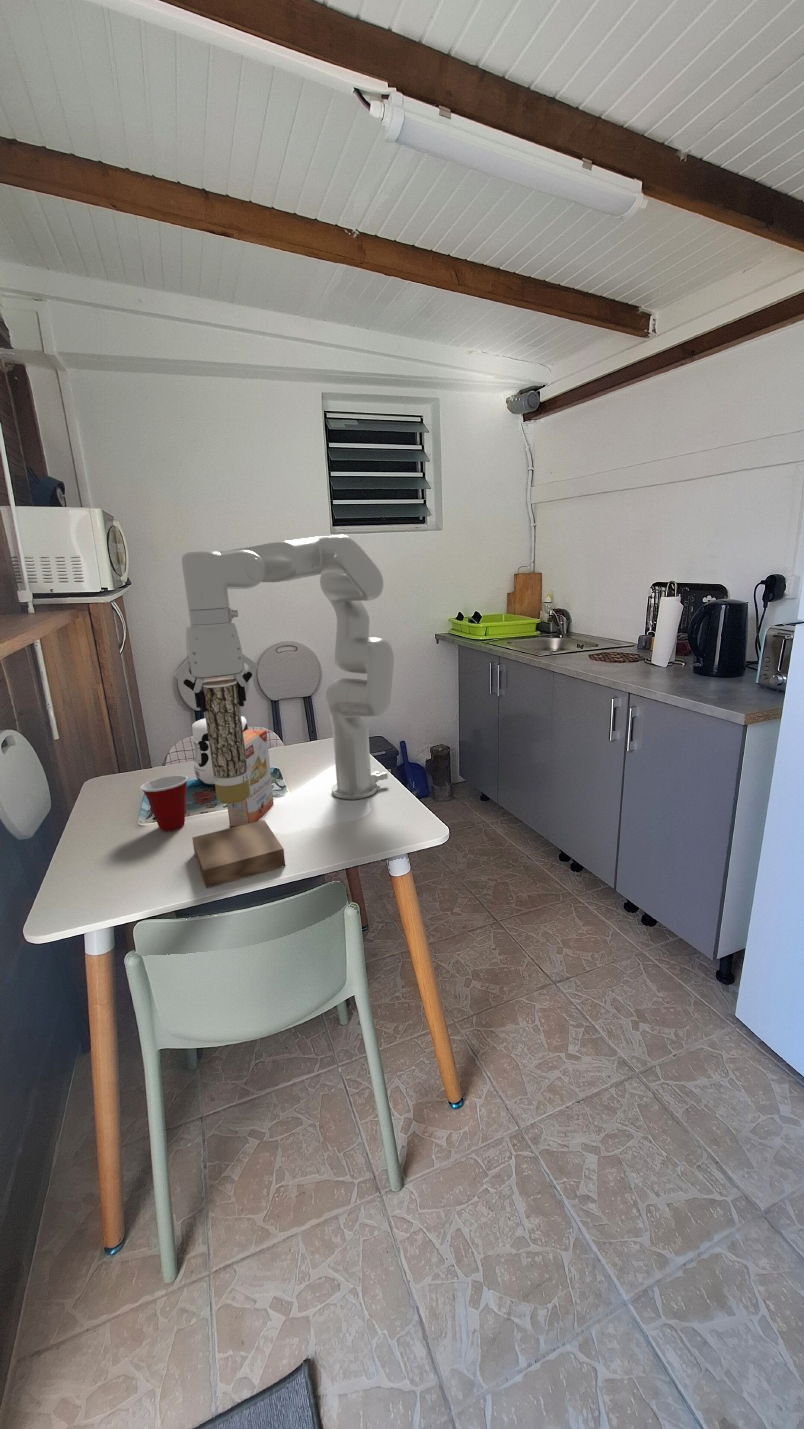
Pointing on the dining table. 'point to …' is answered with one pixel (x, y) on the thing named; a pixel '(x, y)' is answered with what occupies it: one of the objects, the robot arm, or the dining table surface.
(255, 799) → the cracker box
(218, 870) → the walnut base
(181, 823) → the plastic cup
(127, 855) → the dining table surface
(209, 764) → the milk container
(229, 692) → the paper tube
